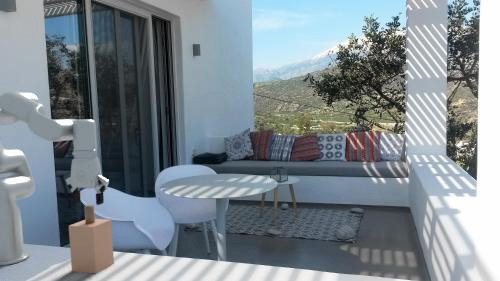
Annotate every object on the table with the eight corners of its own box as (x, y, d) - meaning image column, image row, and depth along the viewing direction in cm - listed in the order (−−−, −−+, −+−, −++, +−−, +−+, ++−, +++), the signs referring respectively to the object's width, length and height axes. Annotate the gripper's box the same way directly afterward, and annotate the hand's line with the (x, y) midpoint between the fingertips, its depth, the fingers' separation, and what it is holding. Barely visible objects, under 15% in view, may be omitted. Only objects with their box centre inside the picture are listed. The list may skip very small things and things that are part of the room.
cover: (71, 271, 152) (67, 208, 151) (90, 261, 162) (86, 202, 160) (96, 273, 149) (91, 209, 147) (114, 263, 158) (110, 203, 157)
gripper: (57, 155, 152) (60, 204, 153) (99, 156, 146) (102, 207, 147) (72, 153, 159) (75, 200, 160) (113, 154, 153) (115, 202, 155)
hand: (88, 203), depth 154 cm, fingers open, 9 cm apart
